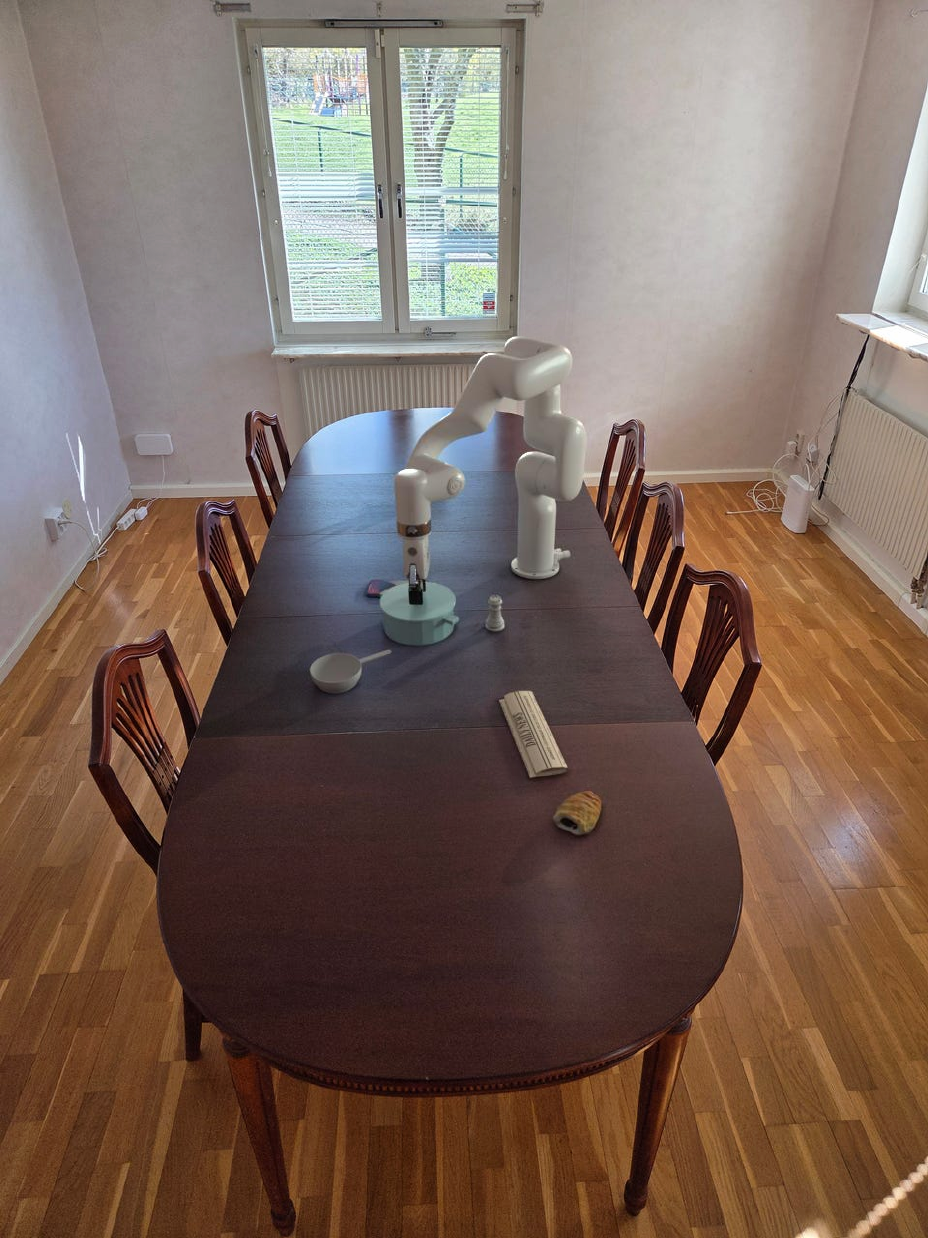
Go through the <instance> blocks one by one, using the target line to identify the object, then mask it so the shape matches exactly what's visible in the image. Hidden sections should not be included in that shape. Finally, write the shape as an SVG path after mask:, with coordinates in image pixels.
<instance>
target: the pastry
mask: <svg viewBox="0 0 928 1238" xmlns="http://www.w3.org/2000/svg"><path fill="white" fill-rule="evenodd" d="M601 810H602V800H601V798H600V797H599V796H598V795H597V794H595V793H594V792H593V791H591V790H587V791H586V790H585V791H581V792H576V793H575V794H571V795H570V796H569V798H566V799H565V800H564V801H563V803H561V804H559V805H558V806H557V809H556V812H555V814H554V815H553V817H552V821H553V823H555V825H556V827H558V828H560V829H562V830H565V831H567V832H570V833H572V834H574V835H576V836H583V835H586V834H589V833H591V832H592V830H594V828H595V826H596V824H597V822H598V820H599V817H600V814H601Z"/></svg>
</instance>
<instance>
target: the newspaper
mask: <svg viewBox="0 0 928 1238" xmlns="http://www.w3.org/2000/svg"><path fill="white" fill-rule="evenodd" d="M503 697H504V698H503V699H499V700H498V701H499V704H500V707H501V709H502V711H503V715H504V717H505V719H506V721H507V724H508V727H509V729H510V731H511V734H512V737H513V739H514V741H515V744H516V747H517V749H518V751H519V754H520V757H521V759H522V761H523V763H524V766H525V768H526V771H527V773H528V776H529V778H530V779H531V778H536V777H547V776H554V775H560V774H563V773H566V772H567V771H568V770H569V768H568V765H567V763H566V761H565V759H564V757H563V755H562V752H561V750H560V748H559V746H558V744H557V742H556V740H555V737H554V735H553V733H552V731H551V728H550V727H549V725H548V723H547V720H546V718H545V716H544V714H543V712H542V709H541V707H540V706H539V703H538V701H537V699H536V696H535V695H534V693H533V691H531V690H518V691H512V692H509V693H506V694H504V695H503Z"/></svg>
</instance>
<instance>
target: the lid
mask: <svg viewBox="0 0 928 1238" xmlns="http://www.w3.org/2000/svg"><path fill="white" fill-rule="evenodd" d="M416 583H418V580H416ZM408 588H409V583H404V584H400V585H397V586H395V587H393V588H391V589H389V590H388V591H386V592H385V593H384V594H383V595H382V597H380V599H379V608H380V610H381V612H382V611H383V612H384V613H385V614H386V615H387V616H389V617H391V618H393V619H396V620H399V621H404V622H427V621H432V620H435V619H438V618H441V617H443V616H445V615H447V614H448V613H450V612H451V611H452V610H453V608H454V609H455V606H456V604H457V598H456V594H455V593H454V592H453V591H452V590H451V589H450V588H448V587H447V586H445V585H442V584H439V583H436V582H430V581H428V582H426V591H425V592H423V605H410V604H409V594H408ZM421 589H423V581H422V580H421Z"/></svg>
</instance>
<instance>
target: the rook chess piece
mask: <svg viewBox="0 0 928 1238" xmlns="http://www.w3.org/2000/svg"><path fill="white" fill-rule="evenodd" d="M487 603H488V604H489V606H488V608H489V615H488V617H487V619H486V620H485V628H486V629H487V630H488V631H489V632H492V633H498V632H501V631H503V629H505V620H504V619H503V617H502V612H501V609H502V606H501V605H502V604H503V600H502V597H501V596H499V595H497V594H496V595H491V596H489V599H488V602H487Z"/></svg>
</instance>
